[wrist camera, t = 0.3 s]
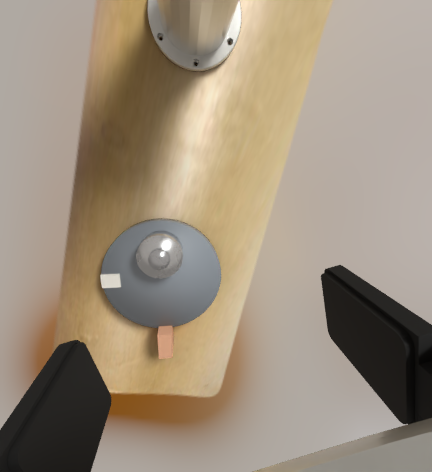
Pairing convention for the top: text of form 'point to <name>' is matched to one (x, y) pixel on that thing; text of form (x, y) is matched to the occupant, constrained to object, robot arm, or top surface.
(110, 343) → the top surface
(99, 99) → the top surface
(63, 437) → the robot arm
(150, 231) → the turntable
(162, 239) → the cover
